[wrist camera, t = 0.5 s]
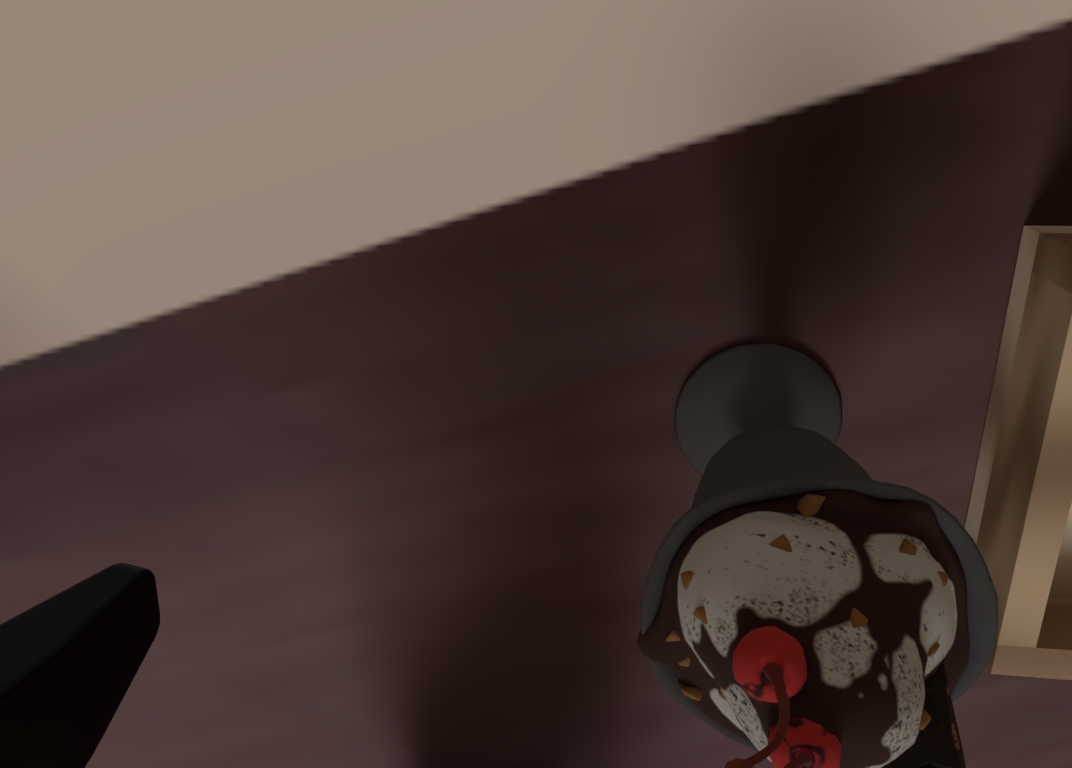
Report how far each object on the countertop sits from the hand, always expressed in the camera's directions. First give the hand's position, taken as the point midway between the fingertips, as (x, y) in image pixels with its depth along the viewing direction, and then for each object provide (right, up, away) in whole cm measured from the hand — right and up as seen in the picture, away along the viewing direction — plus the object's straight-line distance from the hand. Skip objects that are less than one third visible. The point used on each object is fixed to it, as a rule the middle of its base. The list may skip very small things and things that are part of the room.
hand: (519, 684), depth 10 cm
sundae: (+7, +2, +16) cm, 18 cm away
